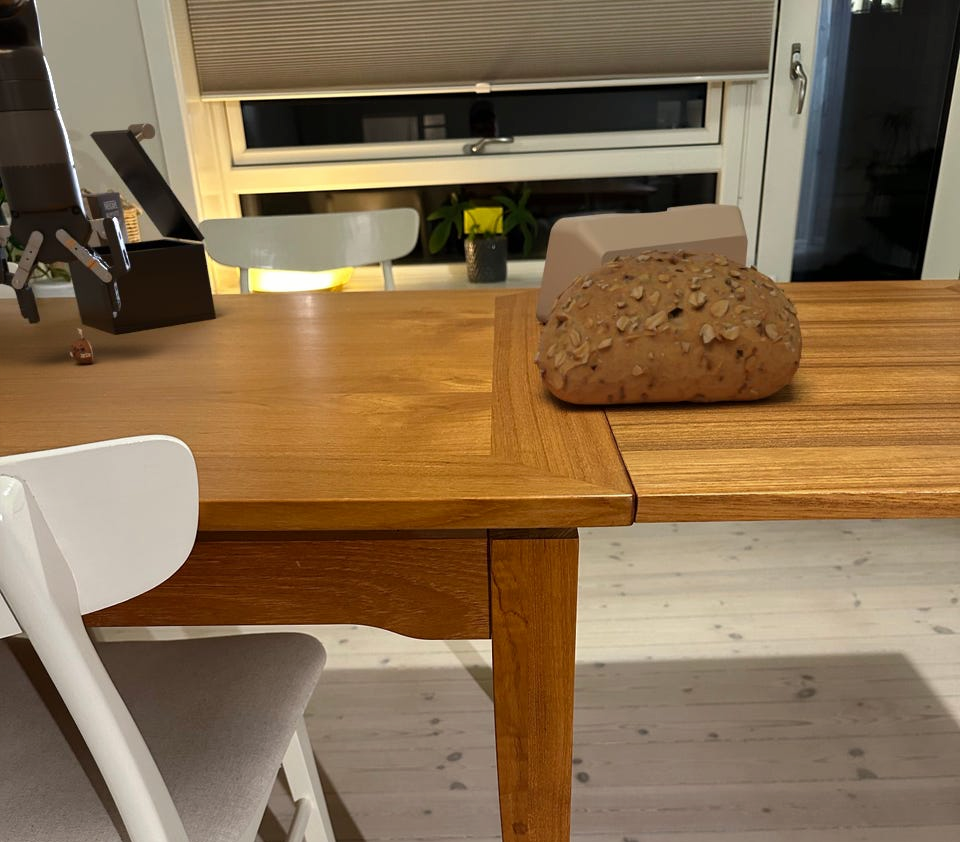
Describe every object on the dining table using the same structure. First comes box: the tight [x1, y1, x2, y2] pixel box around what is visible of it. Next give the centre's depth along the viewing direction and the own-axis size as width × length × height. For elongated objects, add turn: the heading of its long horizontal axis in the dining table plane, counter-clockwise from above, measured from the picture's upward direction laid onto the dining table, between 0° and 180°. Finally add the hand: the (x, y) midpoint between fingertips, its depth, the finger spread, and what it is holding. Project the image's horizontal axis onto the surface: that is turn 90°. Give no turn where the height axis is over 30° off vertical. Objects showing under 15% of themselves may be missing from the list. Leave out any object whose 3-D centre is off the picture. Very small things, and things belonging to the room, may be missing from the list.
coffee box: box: [67, 191, 130, 315], centre depth 141 cm, size 9×6×16 cm
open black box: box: [67, 238, 217, 335], centre depth 133 cm, size 15×13×10 cm
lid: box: [89, 122, 206, 243], centre depth 129 cm, size 15×13×5 cm
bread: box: [532, 249, 803, 406], centre depth 89 cm, size 24×21×12 cm
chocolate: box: [69, 328, 94, 365], centre depth 110 cm, size 3×2×4 cm
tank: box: [535, 203, 749, 324], centre depth 117 cm, size 25×16×12 cm, turn 119°
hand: (74, 319), depth 108 cm, fingers open, 8 cm apart
